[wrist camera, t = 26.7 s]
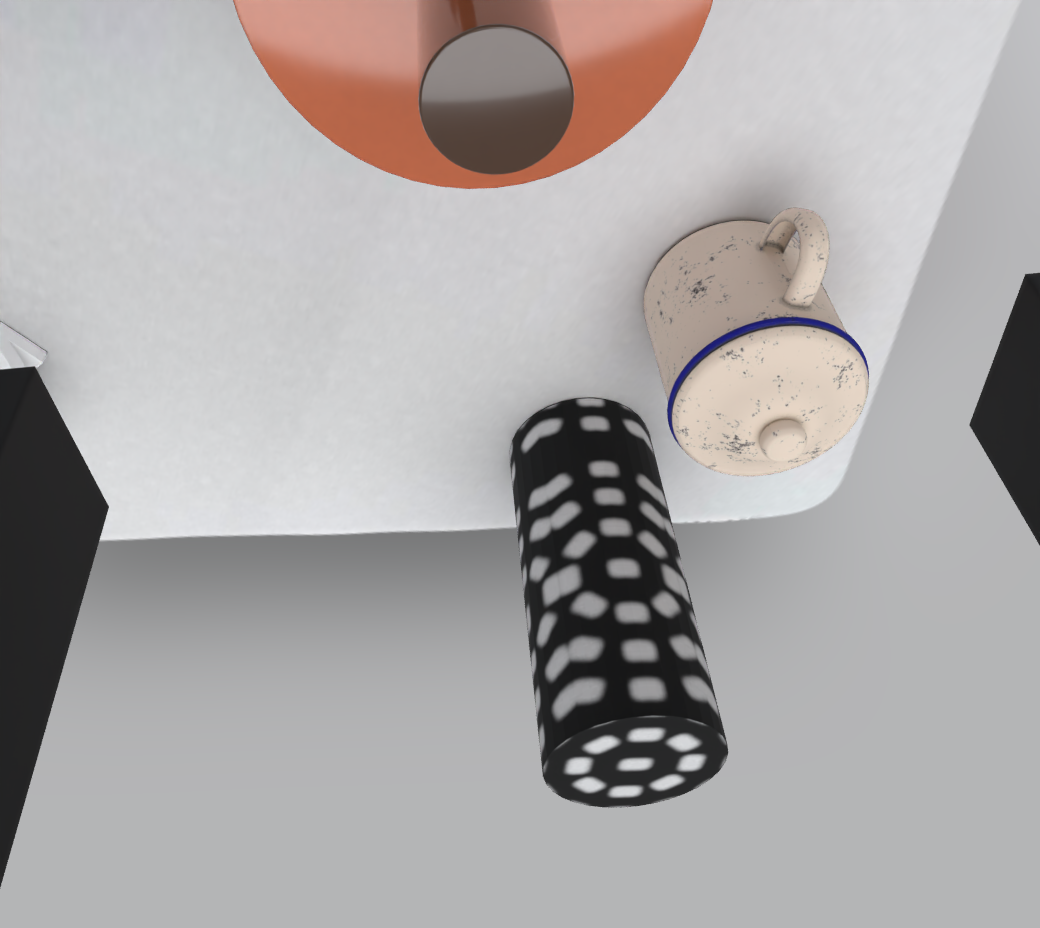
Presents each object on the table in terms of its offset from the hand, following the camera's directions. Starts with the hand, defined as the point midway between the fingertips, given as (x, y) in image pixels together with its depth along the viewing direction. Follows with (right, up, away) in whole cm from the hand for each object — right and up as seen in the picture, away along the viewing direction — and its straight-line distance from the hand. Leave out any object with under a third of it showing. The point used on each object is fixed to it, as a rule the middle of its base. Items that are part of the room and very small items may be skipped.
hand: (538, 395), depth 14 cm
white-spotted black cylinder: (+3, 0, +44) cm, 45 cm away
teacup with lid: (+11, +9, +36) cm, 39 cm away
